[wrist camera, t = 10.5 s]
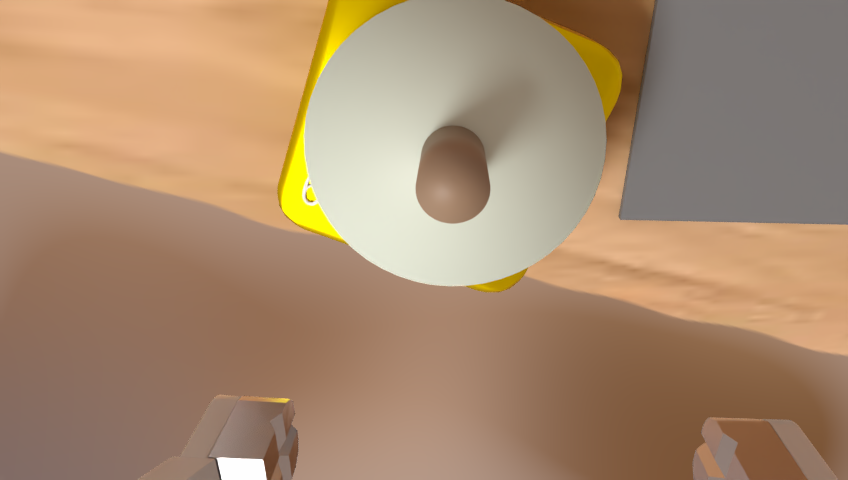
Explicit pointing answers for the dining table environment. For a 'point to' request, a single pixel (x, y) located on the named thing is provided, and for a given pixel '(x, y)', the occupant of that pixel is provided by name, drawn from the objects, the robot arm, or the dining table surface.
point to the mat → (742, 114)
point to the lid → (455, 140)
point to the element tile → (344, 14)
